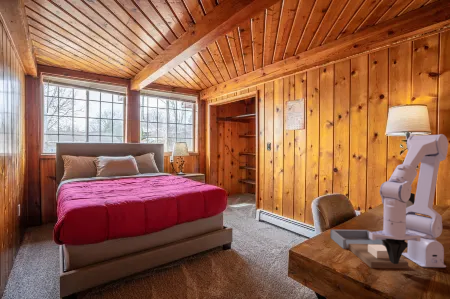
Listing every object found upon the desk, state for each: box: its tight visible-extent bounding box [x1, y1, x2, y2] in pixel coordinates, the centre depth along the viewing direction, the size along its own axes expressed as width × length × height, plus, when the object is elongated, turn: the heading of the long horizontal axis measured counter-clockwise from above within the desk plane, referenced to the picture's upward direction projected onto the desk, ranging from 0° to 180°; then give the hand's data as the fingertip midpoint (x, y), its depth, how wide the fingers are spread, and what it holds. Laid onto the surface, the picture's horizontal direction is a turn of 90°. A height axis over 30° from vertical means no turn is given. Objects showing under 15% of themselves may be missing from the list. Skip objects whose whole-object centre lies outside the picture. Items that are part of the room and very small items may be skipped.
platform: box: [348, 244, 409, 269], centre depth 82 cm, size 14×12×2 cm
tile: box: [368, 245, 389, 258], centre depth 80 cm, size 5×5×2 cm
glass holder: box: [406, 192, 416, 208], centre depth 125 cm, size 9×14×15 cm, turn 132°
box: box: [330, 229, 385, 250], centre depth 94 cm, size 11×16×4 cm
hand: (393, 262), depth 73 cm, fingers closed
